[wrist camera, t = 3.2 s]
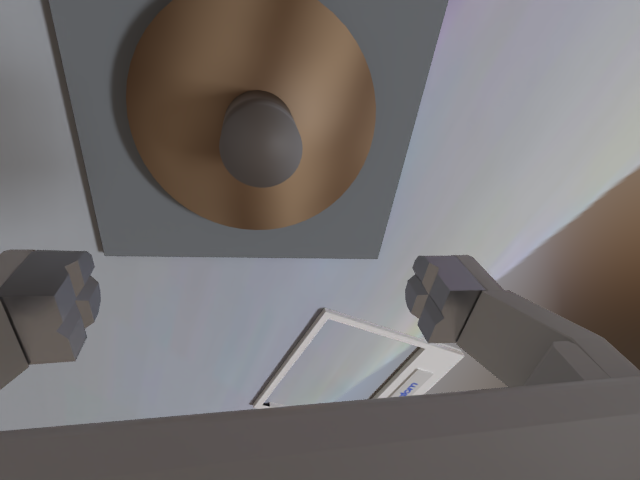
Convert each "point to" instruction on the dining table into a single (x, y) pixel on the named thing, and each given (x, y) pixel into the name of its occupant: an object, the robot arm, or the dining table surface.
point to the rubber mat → (186, 226)
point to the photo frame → (407, 377)
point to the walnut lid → (251, 108)
